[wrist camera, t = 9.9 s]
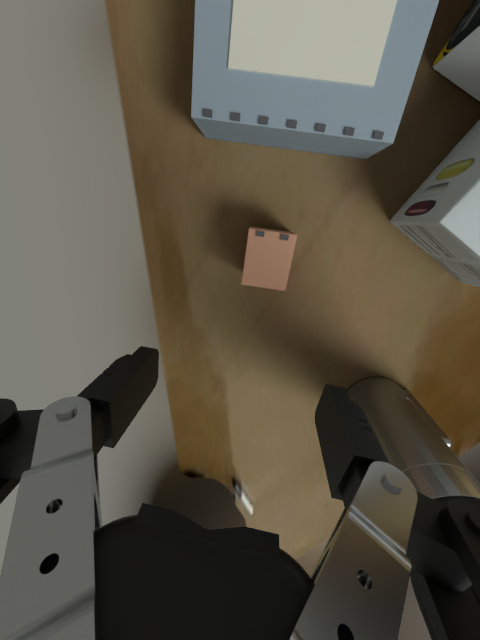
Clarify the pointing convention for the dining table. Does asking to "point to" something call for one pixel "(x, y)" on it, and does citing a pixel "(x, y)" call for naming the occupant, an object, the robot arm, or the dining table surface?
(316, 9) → the block
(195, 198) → the dining table surface
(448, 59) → the medicine bottle
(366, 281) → the dining table surface
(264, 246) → the stub
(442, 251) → the supplement box
